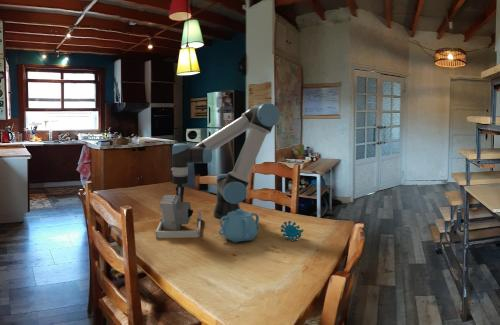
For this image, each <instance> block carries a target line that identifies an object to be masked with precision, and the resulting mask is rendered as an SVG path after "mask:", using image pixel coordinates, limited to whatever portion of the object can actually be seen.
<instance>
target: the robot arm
mask: <svg viewBox="0 0 500 325" xmlns="http://www.w3.org/2000/svg"><path fill="white" fill-rule="evenodd" d="M280 116H281V115H280V110H279V108H278V107H277V105H275V104H274V103H271V102H267V101H266V102H258V103H256V104H254V105H253V106H252V107H249V109H247V110H246V111H244V112H243V113H241V116H240V117H238V118H237V119H235V120H233V121H232V122H231V123H229V124H227V125H226V126H224V127H223V128H221V129H220V130H218V131H216V132H214V133H213V134H211V135H210V136H208V137H207V138H205V139H203V140H202V141H200V142H199V143H196V144H194V145H191V147H188V144H187V143H174V144H173V145H172V150H171V152H172V153H171V159H172V160H171V163H172V164H171V166H172V168H170V171H172V173H171V174H172V177H171V178H172V180H171V182H172V183H173V184H174V185H177V186H176V187H175V191H176V193H175V195H180V196H181V202H184V195H185V186H184V185H186V184H188V183H189V176H188V175H189V165H188V164H209V163H211V162H212V161H213V152H214V151H215V150H218V149H219V148H220V147H222V146H224V145H225V144H227V143H228V142H230V141H232V140H233V139H235V138H236V137H238V136H240V135H241V134H243V133H244V132H246V131H247V130H249V132H248V133H247V136H246V139H245V140H244V143H243V146H242V148H241V150H240V152H239V155H238V157H237V159H236V161H235V165H234V167H233V169H232V171H229V172H228V173H221V174H220V173H219V174H217V176H216V203H215V206H214V210H213V216H214V218H218V219H221V218H222V217H223V216H227V214H228V213H229V212H232V211H236V210H237V209H241V206H240V203H241V202H243V201H244V200H245V199H246V196H247V193H248V192H247V191H248V189H247V188H248V186H249V183H250V180H249V176H250V175H251V174H250V173H251V171H252V170H253V169H252V168H253V166H254V164H255V161H256V160H257V157H258V155H259V153H260V150H261V148H262V146H263V143H264V141H265V138H266V137H267V135H269V134H271V132H272V130H273V128H274V126H275V125H277V124H278V122H279V120H280V118H281V117H280Z"/></svg>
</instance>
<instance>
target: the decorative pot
mask: <svg viewBox="0 0 500 325" xmlns="http://www.w3.org/2000/svg"><path fill="white" fill-rule="evenodd" d="M253 216H255V219H254V217H253ZM259 219H260V216H259V214H257V213H254V212H251V213H250V212H249V211H246V210H244V209H243V208H240V209H237V210H236V211H232V212H229V213H228V214H227V216H223V217H222V218H219V224H220V228H221V229H219V230H218V235H220V236H224V237H225V238H226V239H227V240H229V241H231V242H232V243H234V244H236V243H239V242H245V241H247V242H251V241H252V240H254V239H255V238H256V236H257V234H258V231H260V225H258V224H259V221H260V220H259ZM223 220H224V221H223ZM250 240H251V241H250Z"/></svg>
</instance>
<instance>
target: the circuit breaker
mask: <svg viewBox="0 0 500 325" xmlns="http://www.w3.org/2000/svg"><path fill="white" fill-rule="evenodd" d="M191 207H192V206H191V201H183V202H181V196H180V195H176V194H164V195H163V197H162V199H161V200H160V201H159V211H160V212H162V214H163V221H162V224H163V227H162V228H163V230H165V231H181V228H182V226H183V225H188V224H189V222H190V220H191V217H192V216H193V214H194V210H193V209H192V208H191Z"/></svg>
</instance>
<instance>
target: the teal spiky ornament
mask: <svg viewBox="0 0 500 325" xmlns="http://www.w3.org/2000/svg"><path fill="white" fill-rule="evenodd" d="M280 228H281V229H280V233H282V237H283V238H284V237H286V236H288V237H286V240H287V241H289V240H290V241H291V240H294V241H295V240H296V239H299V238H301V237H302V233H303V232H304V231H305V230H304V229H301V228H300V225H297V223H296V222H295V221H294V222H292V221H291V220H288V222H287V221H284V222H283V224H281V226H280ZM297 235H298V236H297ZM290 238H291V239H290Z"/></svg>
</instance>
